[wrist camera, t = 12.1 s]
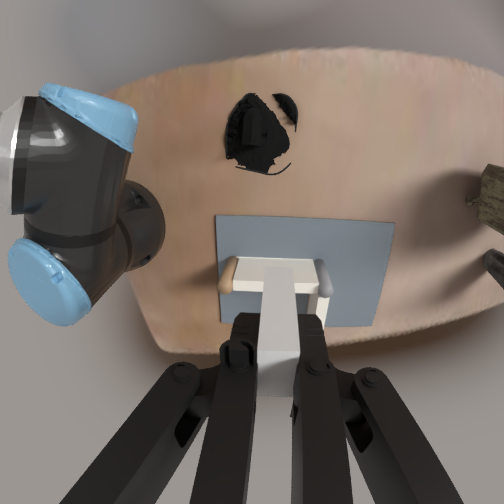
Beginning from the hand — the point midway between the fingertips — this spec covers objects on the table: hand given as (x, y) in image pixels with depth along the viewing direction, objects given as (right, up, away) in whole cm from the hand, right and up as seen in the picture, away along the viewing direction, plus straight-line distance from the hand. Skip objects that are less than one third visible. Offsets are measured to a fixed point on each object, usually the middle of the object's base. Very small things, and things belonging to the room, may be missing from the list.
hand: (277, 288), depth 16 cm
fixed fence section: (+2, 0, +28) cm, 29 cm away
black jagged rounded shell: (0, +19, +22) cm, 29 cm away
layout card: (+7, -2, +29) cm, 30 cm away
